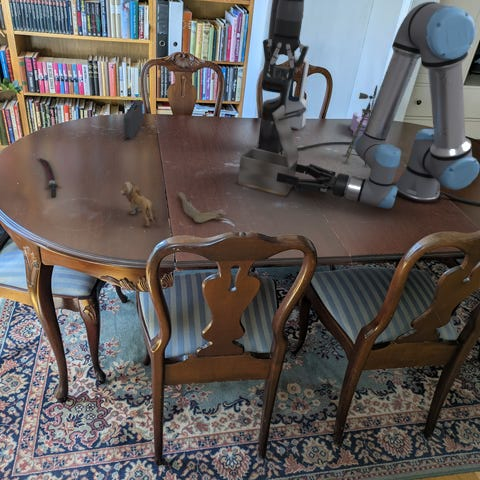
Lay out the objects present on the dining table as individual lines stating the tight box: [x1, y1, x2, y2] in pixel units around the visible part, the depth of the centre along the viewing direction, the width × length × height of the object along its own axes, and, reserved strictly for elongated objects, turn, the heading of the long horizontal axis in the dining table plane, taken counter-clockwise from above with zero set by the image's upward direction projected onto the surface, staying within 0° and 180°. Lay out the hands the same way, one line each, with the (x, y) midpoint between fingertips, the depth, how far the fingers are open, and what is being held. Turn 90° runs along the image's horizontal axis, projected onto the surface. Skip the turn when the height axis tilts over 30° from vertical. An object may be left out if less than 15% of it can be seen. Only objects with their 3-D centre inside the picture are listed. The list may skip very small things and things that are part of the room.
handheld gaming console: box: [123, 99, 144, 141], centre depth 190 cm, size 23×3×10 cm, turn 178°
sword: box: [40, 158, 59, 198], centre depth 151 cm, size 31×3×1 cm, turn 26°
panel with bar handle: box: [272, 105, 307, 168], centre depth 149 cm, size 18×10×8 cm
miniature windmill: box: [345, 85, 378, 167], centre depth 179 cm, size 9×8×30 cm
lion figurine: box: [119, 181, 159, 227], centre depth 134 cm, size 15×5×9 cm, turn 50°
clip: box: [349, 112, 369, 137], centre depth 214 cm, size 20×12×7 cm, turn 11°
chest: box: [237, 146, 299, 197], centre depth 159 cm, size 17×10×10 cm, turn 68°
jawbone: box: [177, 191, 228, 224], centre depth 141 cm, size 9×20×2 cm, turn 50°
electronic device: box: [286, 56, 310, 131], centre depth 208 cm, size 12×8×30 cm, turn 71°
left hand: (281, 78), depth 142 cm, fingers open, 4 cm apart
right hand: (282, 170), depth 157 cm, fingers closed on chest, 10 cm apart
